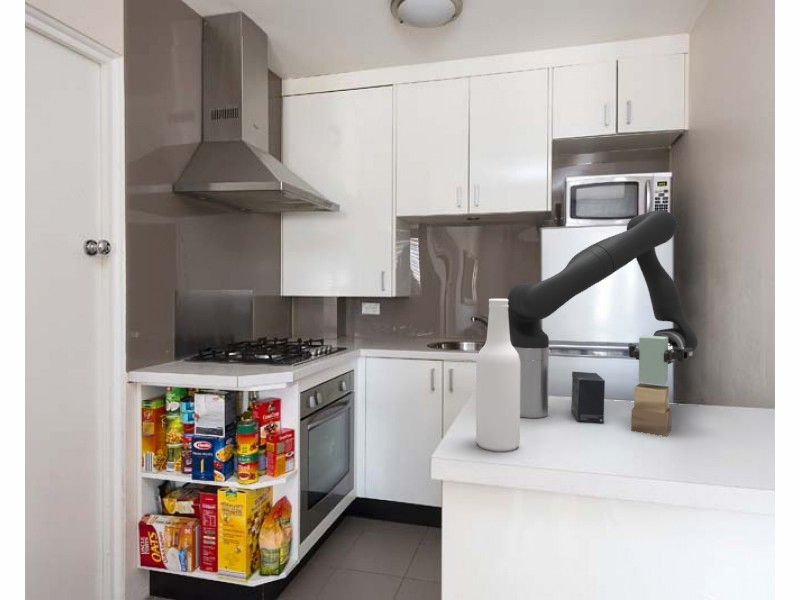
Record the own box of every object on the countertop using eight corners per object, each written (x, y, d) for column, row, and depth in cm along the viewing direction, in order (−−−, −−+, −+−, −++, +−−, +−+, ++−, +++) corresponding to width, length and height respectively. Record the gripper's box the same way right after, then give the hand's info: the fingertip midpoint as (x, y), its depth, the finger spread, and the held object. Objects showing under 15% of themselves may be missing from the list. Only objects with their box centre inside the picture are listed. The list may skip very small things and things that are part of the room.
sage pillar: (663, 384, 105) (664, 339, 105) (638, 381, 108) (639, 337, 108) (667, 380, 109) (668, 336, 109) (643, 378, 112) (643, 335, 112)
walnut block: (666, 437, 105) (666, 414, 104) (631, 431, 109) (631, 409, 109) (671, 429, 110) (671, 407, 110) (637, 424, 114) (637, 403, 114)
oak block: (664, 413, 105) (664, 391, 105) (634, 409, 109) (634, 387, 108) (668, 408, 110) (669, 386, 110) (639, 404, 113) (640, 383, 113)
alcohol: (473, 450, 96) (474, 299, 95) (478, 436, 104) (479, 298, 103) (519, 454, 94) (520, 299, 93) (520, 440, 102) (521, 298, 101)
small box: (605, 424, 114) (606, 379, 114) (576, 422, 115) (577, 378, 115) (596, 412, 124) (597, 371, 124) (570, 411, 126) (570, 371, 125)
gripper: (633, 330, 124) (616, 337, 111) (698, 334, 116) (689, 341, 102) (632, 359, 124) (616, 369, 111) (697, 365, 116) (688, 376, 102)
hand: (651, 356), depth 107 cm, fingers closed on sage pillar, 5 cm apart
